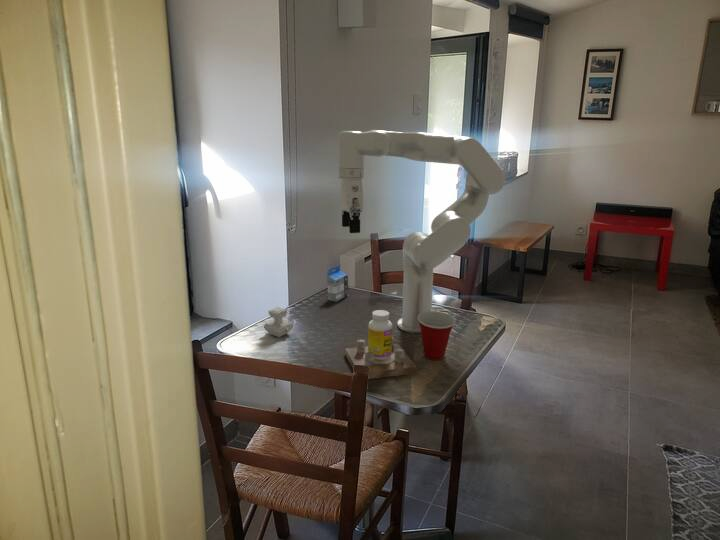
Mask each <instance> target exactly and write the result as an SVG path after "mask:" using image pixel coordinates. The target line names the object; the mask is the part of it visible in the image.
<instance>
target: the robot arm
mask: <svg viewBox="0 0 720 540" xmlns="http://www.w3.org/2000/svg"><path fill="white" fill-rule="evenodd" d="M337 138H338V140H337V141H338V147H337V148H338V151H337V152H338V153H337V154H338V163H337V164H338V179H339V180H341V183H340V184H341V187H340V207H341V209H342V210H341V226H342V227H343V228H346V227H347V228H348V229H349V230H348V231H349V233H350V234H360V233H361V213H362V212H364V192H363V191H364V189H363V181H362V180H363V179H364V178H365V177H364V174H365V173H364V168H365V167H364V166H365V165H364V163H365V161H364V160H365V156H368V157H369V156H370V157H376V158H381V157H386V156H387V157H395V158H396V157H398V158H403V159H408V160H411V161H415V162H422V163H436V164H437V163H438V164H449V165H459V166H462V168H463V170H464V171H465V173H466V174H465V187H464V191H463V192H462V194H461V196H459V198H458V199H457V200H455V201H454V202H453V203H452V204H450V205H449V206H448V207H447V208H444V210H443V211H442V212H440V213H439V214H437V215H436V216H435V217H434V218H433V220H432V222H431V225H430V229H431V233H430V234H427V233H426V232H422V231H414V232H411V233H409V234H408V235H407V236H406V237H405V239H404V242H403V244H402V259H403V281H402V283H403V285H402V312H401V313H402V315H401V316H402V317H401V318H399V319H398V320H397V322H396V325H397V327H398V329H400V330H401V331H405V332H407V333H413V334H414V333H415V334H421V329H420V325H419V321H418V319H417V318H418V315H419V314H421V313H423V312H427V311H432V310H433V309H432V308H433V307H432V305H433V283H434V269H435V268H436V267H439V266H440V265H441V264H443V263H445V261H446V260H447V259H449V258H450V257H452V256H453V255H454V254H456V252H458V251H459V250H460V249H461V248H463V247H464V246H465V244H466V243H467V242H468V241H469V239H470V236H471V231H472V229H471V224H472V223H474V221H476V220H477V218H479V217H480V216H481V215H482V213H483V212H484V211H485V209H486V207H487V205H488V202H489V197H490V195H496V194H497V193H499V192H501V191H502V189H503V188H504V185H505V182H506V177H505V173H504V170H502V168H501V167H500V166H499V165H498V164H497V162H496V161H495V160H494V158H493V157H492V156H491V155H490V153H489V152H488V150H486V148H485V147H484V145H482V144H481V143H480V141H478V140H477V139H476V138H474V137H471V136H461V135H452V134H451V135H450V134H442V133H440V134H439V133H431V132H401V131H400V132H399V131H390V130H389V131H387V130H378V129H369V130H368V131H359V130H358V131H357V130H341V131H340V132H339V134H338V137H337Z"/></svg>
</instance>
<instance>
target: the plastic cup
mask: <svg viewBox="0 0 720 540" xmlns="http://www.w3.org/2000/svg"><path fill="white" fill-rule="evenodd" d="M417 319H418V321H419V325H420V329H421V333H420V335H421V345H422V350H423V356H424V355H425V356H424V357H425V358H426V359H428V360H432V361H439V360H442V359H444V357H445V354H446V350H447V347H448V344H449V339H450V335H451V332H452V329H453V327H454V325H455V324H456V319H455V317H454V316H453V315H451V314H449V313H447V312H443V311H436V310H431V311H427V312H423V313H421V314H419V315H418V318H417Z"/></svg>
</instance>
